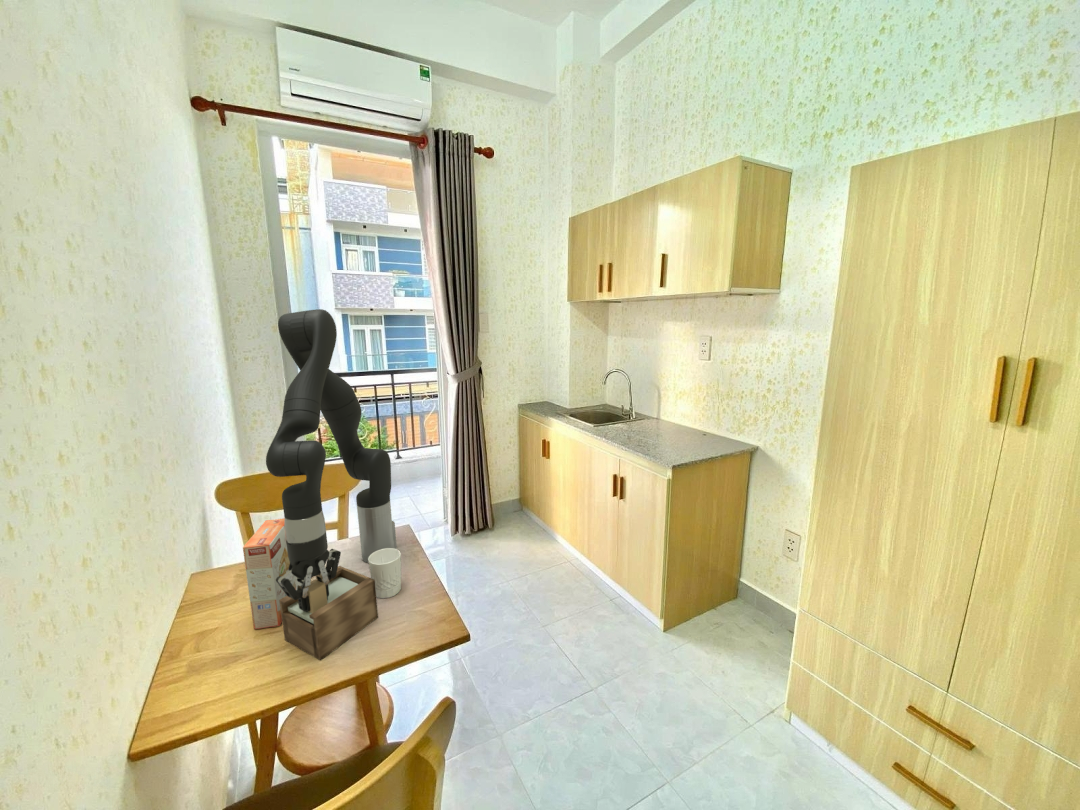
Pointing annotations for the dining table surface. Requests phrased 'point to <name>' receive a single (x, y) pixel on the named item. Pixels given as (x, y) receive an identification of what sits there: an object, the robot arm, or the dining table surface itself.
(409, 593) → the dining table surface
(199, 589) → the dining table surface
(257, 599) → the cracker box
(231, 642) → the dining table surface
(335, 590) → the lid
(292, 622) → the walnut box
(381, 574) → the white cup
